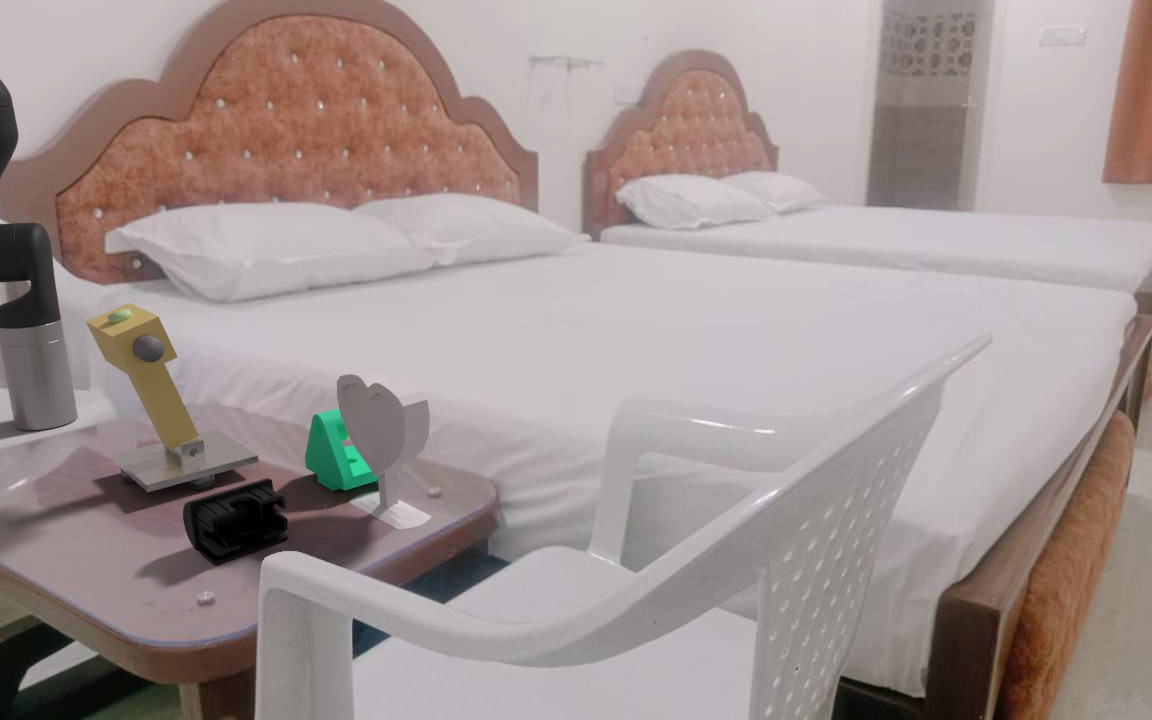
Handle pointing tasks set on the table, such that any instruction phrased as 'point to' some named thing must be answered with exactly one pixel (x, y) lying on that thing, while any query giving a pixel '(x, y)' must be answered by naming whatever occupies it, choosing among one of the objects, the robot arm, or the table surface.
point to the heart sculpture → (385, 437)
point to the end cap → (236, 522)
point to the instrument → (145, 367)
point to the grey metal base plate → (183, 462)
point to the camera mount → (334, 454)
